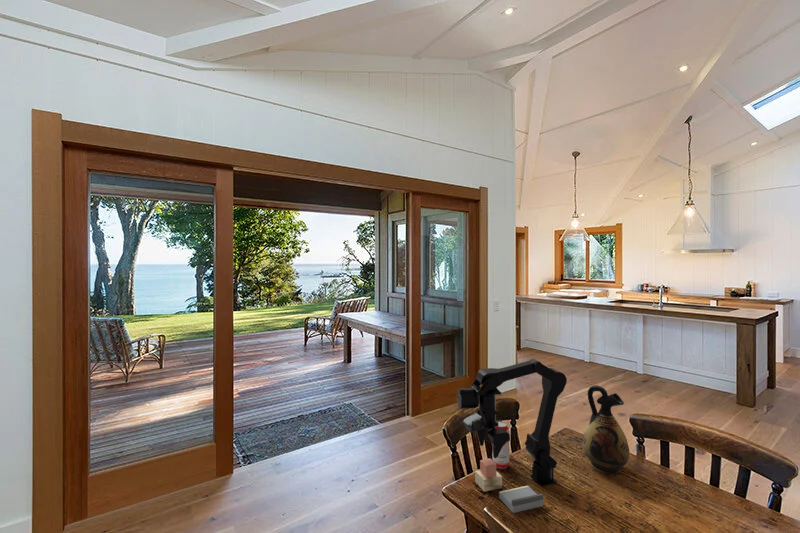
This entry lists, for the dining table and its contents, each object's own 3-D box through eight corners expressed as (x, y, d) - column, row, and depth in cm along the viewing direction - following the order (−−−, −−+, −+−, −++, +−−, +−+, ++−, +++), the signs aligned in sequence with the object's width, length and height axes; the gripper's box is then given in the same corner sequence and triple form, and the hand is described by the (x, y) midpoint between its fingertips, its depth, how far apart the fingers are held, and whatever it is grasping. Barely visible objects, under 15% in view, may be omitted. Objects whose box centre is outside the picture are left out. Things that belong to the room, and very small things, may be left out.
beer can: (510, 470, 137) (509, 427, 137) (493, 469, 138) (492, 426, 138) (508, 462, 143) (508, 421, 143) (492, 460, 144) (491, 419, 144)
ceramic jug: (636, 468, 137) (634, 388, 137) (620, 484, 127) (619, 398, 127) (589, 451, 150) (587, 378, 150) (571, 465, 140) (570, 386, 140)
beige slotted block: (492, 478, 132) (492, 467, 132) (502, 488, 126) (501, 476, 126) (475, 482, 130) (475, 470, 130) (484, 491, 124) (483, 480, 124)
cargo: (490, 469, 131) (490, 458, 131) (496, 475, 127) (496, 464, 127) (480, 471, 129) (480, 460, 129) (486, 477, 126) (485, 466, 126)
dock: (527, 491, 124) (527, 481, 124) (543, 505, 116) (543, 494, 116) (499, 497, 121) (498, 487, 121) (513, 513, 113) (513, 501, 113)
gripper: (454, 400, 135) (455, 443, 135) (480, 420, 117) (481, 469, 117) (481, 397, 138) (482, 438, 138) (510, 415, 120) (511, 463, 120)
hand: (488, 451), depth 128 cm, fingers open, 9 cm apart
